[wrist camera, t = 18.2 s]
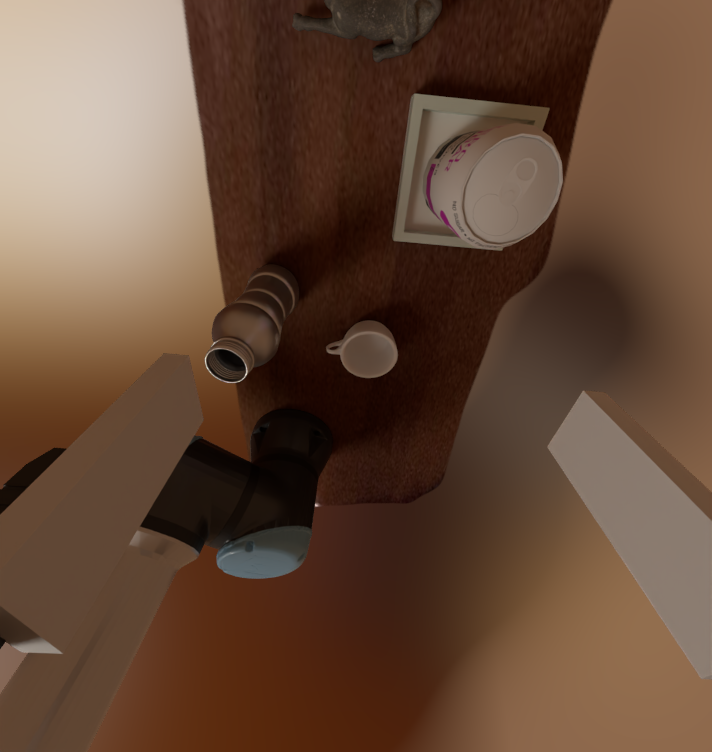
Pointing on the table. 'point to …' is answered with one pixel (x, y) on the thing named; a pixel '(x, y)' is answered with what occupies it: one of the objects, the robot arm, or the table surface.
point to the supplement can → (494, 183)
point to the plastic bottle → (252, 324)
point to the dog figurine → (377, 22)
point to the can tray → (423, 136)
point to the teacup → (367, 349)
